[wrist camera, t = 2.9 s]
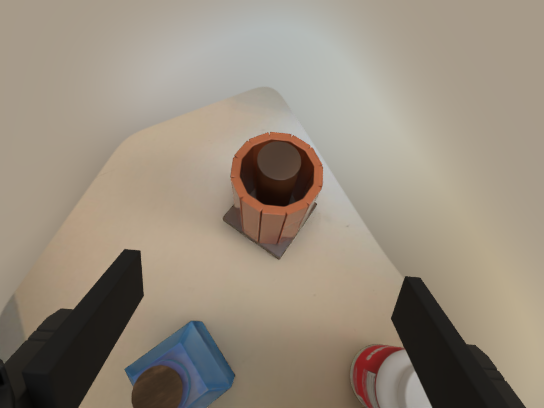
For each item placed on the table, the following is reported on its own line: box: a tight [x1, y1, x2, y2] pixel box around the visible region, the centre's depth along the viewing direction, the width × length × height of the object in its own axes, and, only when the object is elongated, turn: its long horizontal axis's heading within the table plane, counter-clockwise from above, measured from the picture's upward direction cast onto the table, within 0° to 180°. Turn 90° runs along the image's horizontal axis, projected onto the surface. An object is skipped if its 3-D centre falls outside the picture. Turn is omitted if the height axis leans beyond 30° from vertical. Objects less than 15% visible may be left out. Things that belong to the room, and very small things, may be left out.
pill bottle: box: [350, 344, 432, 408], centre depth 26 cm, size 6×6×11 cm
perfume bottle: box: [124, 321, 235, 408], centre depth 25 cm, size 6×6×12 cm
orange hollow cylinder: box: [230, 132, 323, 244], centre depth 32 cm, size 8×8×10 cm
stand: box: [223, 141, 317, 259], centre depth 31 cm, size 8×8×13 cm
